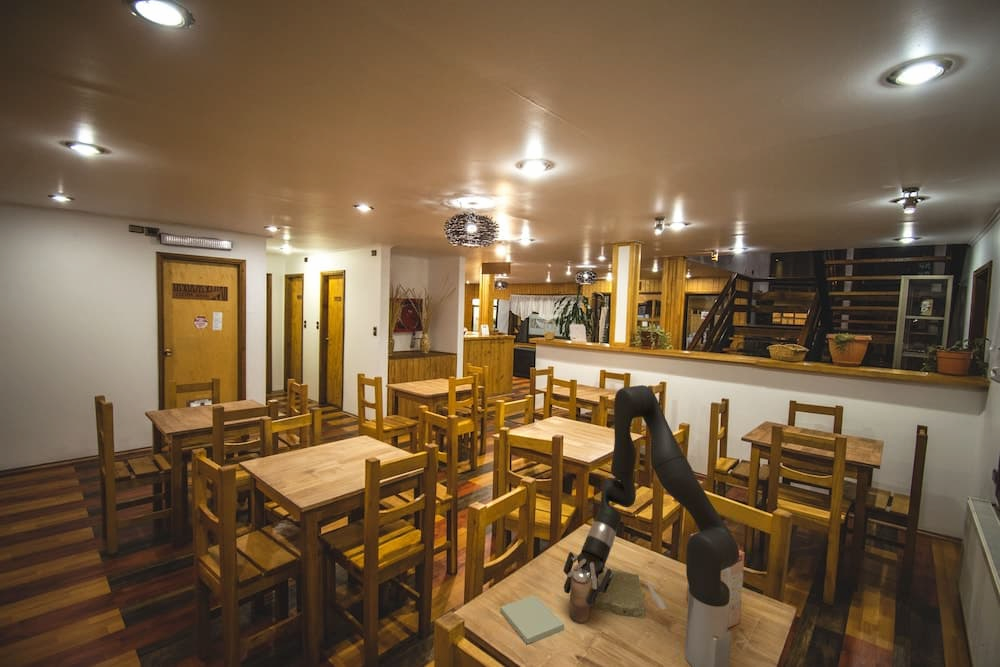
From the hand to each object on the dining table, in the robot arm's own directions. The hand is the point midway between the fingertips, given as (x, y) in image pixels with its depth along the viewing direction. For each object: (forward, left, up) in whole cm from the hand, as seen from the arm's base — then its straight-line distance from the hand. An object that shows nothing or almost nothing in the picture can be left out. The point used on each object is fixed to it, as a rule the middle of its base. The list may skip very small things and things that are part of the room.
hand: (577, 597), depth 125 cm
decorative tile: (+5, -17, -7) cm, 19 cm away
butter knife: (+4, -32, -7) cm, 33 cm away
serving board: (+6, +11, -6) cm, 14 cm away
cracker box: (-15, -39, -7) cm, 42 cm away
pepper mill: (+1, -2, -6) cm, 7 cm away
